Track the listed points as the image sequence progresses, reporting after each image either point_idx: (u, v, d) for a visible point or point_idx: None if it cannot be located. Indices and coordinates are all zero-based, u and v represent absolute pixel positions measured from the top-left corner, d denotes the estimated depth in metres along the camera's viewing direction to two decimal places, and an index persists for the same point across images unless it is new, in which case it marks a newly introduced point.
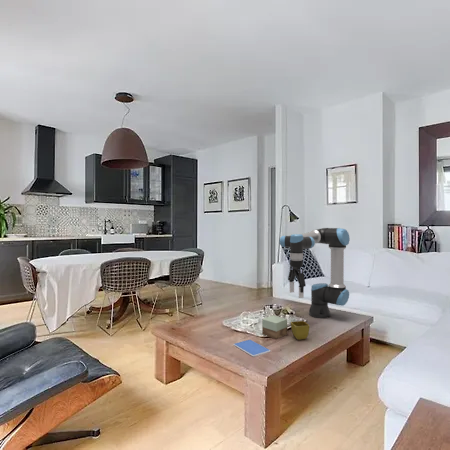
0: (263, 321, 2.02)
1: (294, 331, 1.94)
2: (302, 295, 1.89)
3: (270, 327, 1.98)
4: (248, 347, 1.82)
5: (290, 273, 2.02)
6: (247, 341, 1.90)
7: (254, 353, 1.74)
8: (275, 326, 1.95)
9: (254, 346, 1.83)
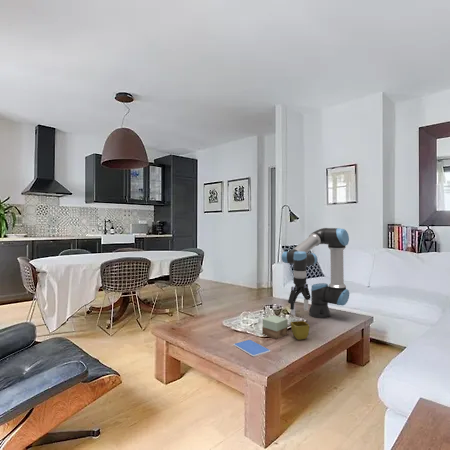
0: (263, 321, 2.02)
1: (294, 331, 1.94)
2: (293, 312, 1.90)
3: (270, 327, 1.98)
4: (248, 347, 1.82)
5: None
6: (247, 341, 1.90)
7: (254, 353, 1.74)
8: (276, 326, 1.95)
9: (254, 346, 1.83)
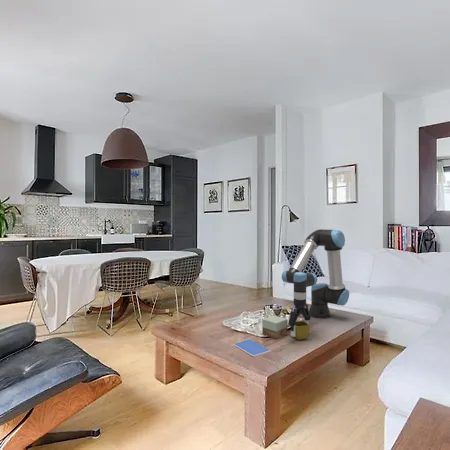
0: (263, 321, 2.02)
1: None
2: (293, 334, 1.90)
3: (270, 327, 1.98)
4: (248, 347, 1.82)
5: (304, 311, 2.01)
6: (247, 341, 1.90)
7: (254, 353, 1.74)
8: (275, 326, 1.95)
9: (254, 346, 1.83)
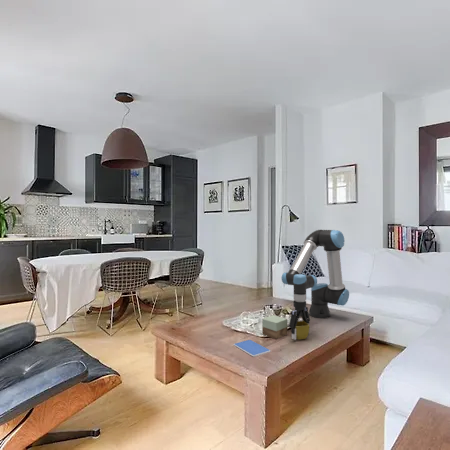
0: (263, 321, 2.02)
1: None
2: (294, 337, 1.91)
3: (270, 327, 1.98)
4: (248, 347, 1.82)
5: (304, 313, 2.01)
6: (247, 341, 1.90)
7: (254, 353, 1.74)
8: (275, 326, 1.95)
9: (254, 346, 1.83)
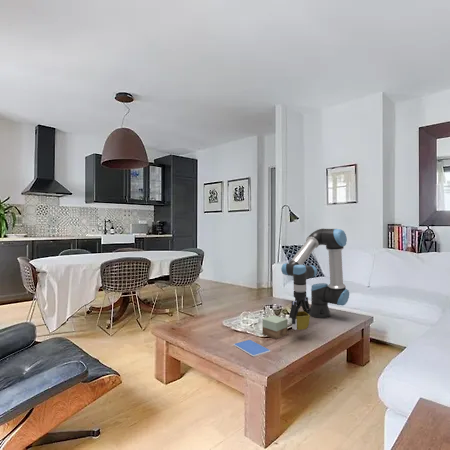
0: (263, 321, 2.02)
1: None
2: (295, 327, 1.91)
3: (270, 327, 1.98)
4: (248, 347, 1.82)
5: (304, 304, 2.01)
6: (247, 341, 1.90)
7: (254, 353, 1.74)
8: (275, 326, 1.95)
9: (254, 346, 1.83)
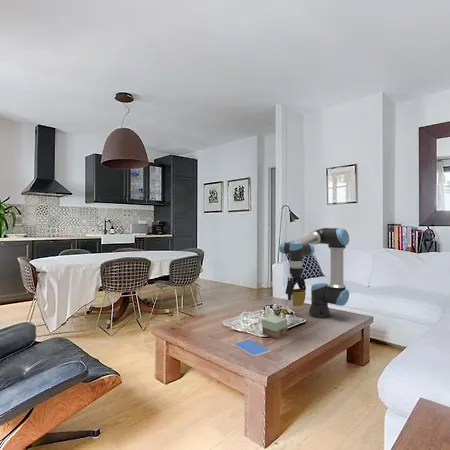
0: (263, 321, 2.02)
1: None
2: (290, 303, 1.91)
3: (269, 327, 1.98)
4: (248, 347, 1.82)
5: None
6: (247, 341, 1.90)
7: (254, 353, 1.74)
8: (274, 326, 1.96)
9: (254, 346, 1.83)
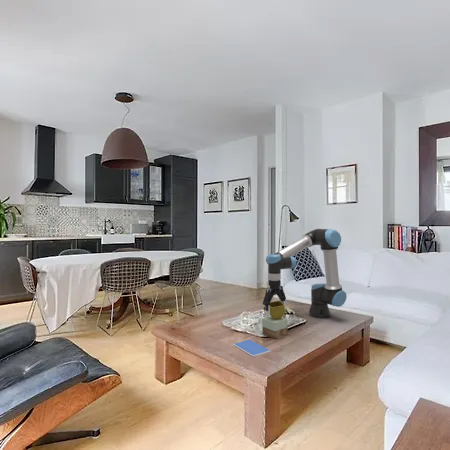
0: (263, 320, 2.03)
1: (270, 311, 2.01)
2: (268, 313, 1.97)
3: (269, 327, 1.98)
4: (248, 347, 1.82)
5: (280, 292, 2.07)
6: (247, 341, 1.90)
7: (254, 353, 1.74)
8: (273, 326, 1.95)
9: (254, 346, 1.83)
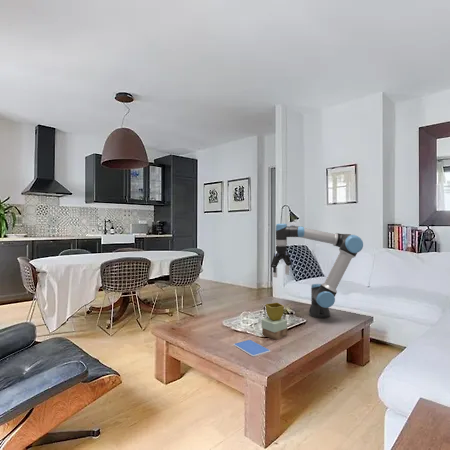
0: (262, 322, 2.01)
1: (269, 312, 1.99)
2: (275, 275, 2.22)
3: (269, 328, 1.97)
4: (248, 347, 1.82)
5: None
6: (247, 341, 1.90)
7: (254, 353, 1.74)
8: (273, 327, 1.93)
9: (254, 346, 1.83)
